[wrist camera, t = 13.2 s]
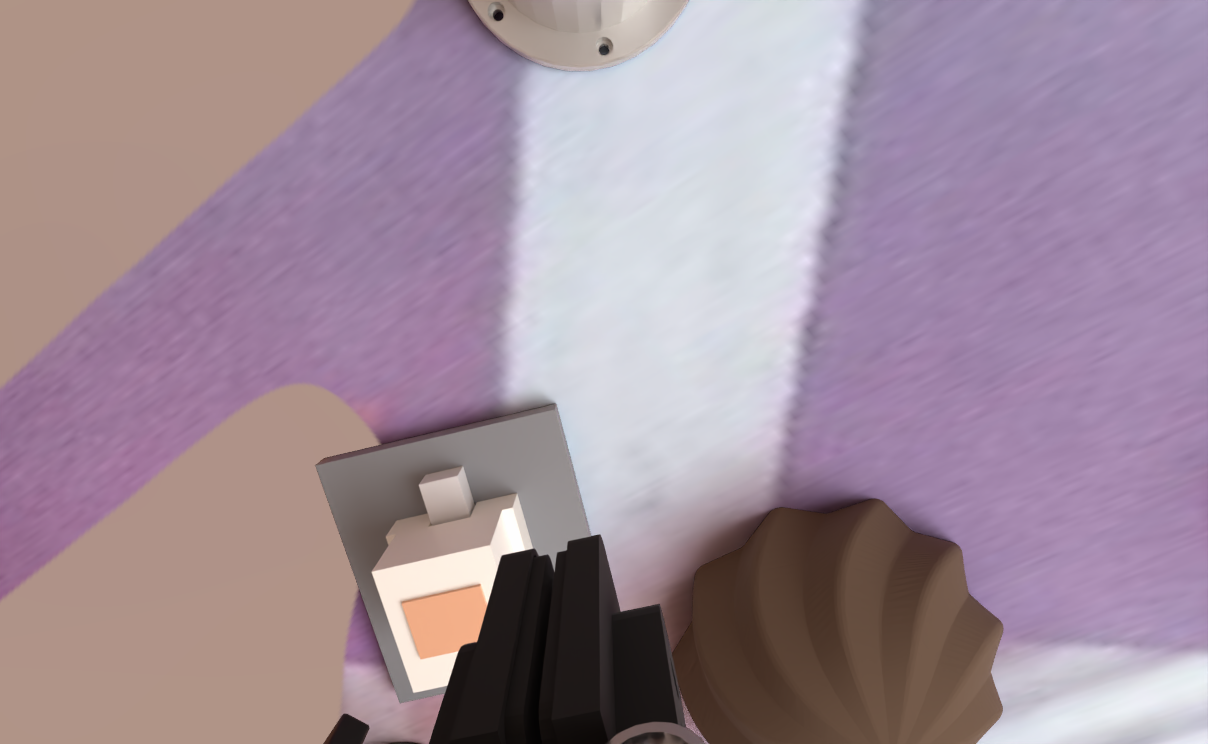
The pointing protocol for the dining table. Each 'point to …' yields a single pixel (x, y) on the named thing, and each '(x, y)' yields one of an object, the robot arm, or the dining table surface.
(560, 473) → the rail board
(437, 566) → the block
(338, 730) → the light fixture
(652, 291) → the dining table surface
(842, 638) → the decorative dome
